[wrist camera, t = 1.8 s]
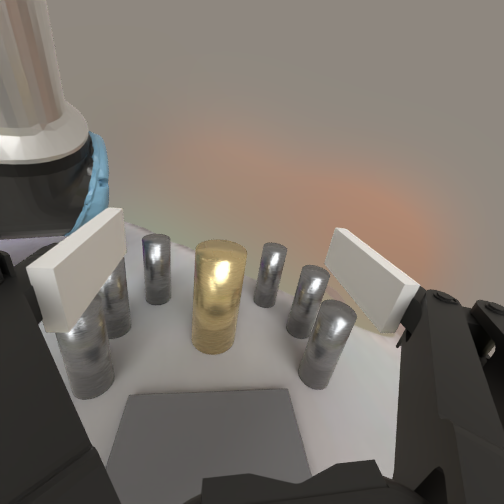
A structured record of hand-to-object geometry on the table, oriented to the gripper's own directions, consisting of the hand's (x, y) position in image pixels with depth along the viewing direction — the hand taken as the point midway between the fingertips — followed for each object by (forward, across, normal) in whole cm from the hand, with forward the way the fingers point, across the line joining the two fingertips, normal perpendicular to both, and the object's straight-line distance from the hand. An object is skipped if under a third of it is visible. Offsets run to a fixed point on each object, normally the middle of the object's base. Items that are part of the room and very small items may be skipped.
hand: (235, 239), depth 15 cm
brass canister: (+10, 0, -19) cm, 21 cm away
